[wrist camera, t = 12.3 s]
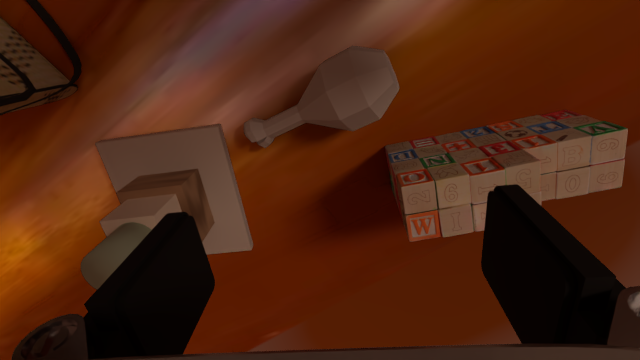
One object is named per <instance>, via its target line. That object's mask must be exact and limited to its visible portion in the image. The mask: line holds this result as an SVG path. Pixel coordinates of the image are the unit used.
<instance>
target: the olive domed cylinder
mask: <svg viewBox="0 0 640 360" xmlns="http://www.w3.org/2000/svg"><path fill="white" fill-rule="evenodd" d="M150 231H151V229H150V228H149V227H147V226H145V225H143V224H140V223H134V222H129V223H124V224H122V225H120V226H119V227H118V228H117V229H115V230H114V231H113V232H112V233H111V234H110V235H109V236H108V237H106V238H105V239H104V240H103V241H102V242H101V243H100V244H99V245H97V246H96V247H95V248H94V249H93V250H92V251H91V252H90V253H88V254H87V255H86V256H85V257H84V258H83V260H82V262H81V272H82V275H83V277H84V278H85V280H86V281H87V282H88V283H89V284H90V285H91V286H92V287H94V288H95V289H97V290H98V288H99V287H100V286H101V285H102V284H103V283H104V282H105V281H106V280H107V279H108V277H109V276H110V275H111V274H112V273H113V272H114V271H115V270H116V269H117V268H118V266H119V265H120V264H121V263H122V262H123V261H124V260H125V259H126V258H127V257H128V256H129V254H130V253H131V252H132V251H133V250H134V249H135V248H136V247H137V246H138V245H139V243H140V242H141V241H142V240H143V239H144V238H145V237H146V236H147V235H148V234H149V232H150Z"/></svg>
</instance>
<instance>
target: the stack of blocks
mask: <svg viewBox="0 0 640 360" xmlns="http://www.w3.org/2000/svg"><path fill="white" fill-rule="evenodd" d="M627 133H628V129H627V128H625V127H622V126H619V125H616V124H613V123H610V122H606V121H600V120H597V119H594V118H591V117H588V116H585V115H580V114H577V113H575V112H572V111H568V110H563V111H558V112H554V113H549V114H545V115H540V116H539V115H536V116H531V117H526V118H521V119H516V120H513V121H506V122H501V123H496V124H491V125H487V126H485V127H479V128H474V129H469V130H464V131H460V132H455V133H450V134H446V135H441V136H436V137H428V138H423V139H418V140H413V141H408V142H402V143H397V144H392V145H387V146H385V152H386V158H387V164H388V168H389V173H390V179H391V185H392V191H393V194H394V196H395V199H396V202H397V206H398V209H399V212H400V216H401V219H402V222H403V225H404V226H405V229H406V232H407V235H408V238H409V241H410V242H412V241H418V240H424V239H430V238H436V237H440V236H442V237H448V236H454V235H460V234H465V233H470V232H473V231H474V230H475V231H483V230H484V228H485V218H486V207H487V196H488V193H489V192H490V191H494V188H495V187H496V186H501V185H513V184H518V185H519V186H520V187H521V188H522V189H524V190H525V191H526V192H527V193H528V194H529V195H530V196H531V197H532V198H533V199H534V200H535V201H536V202H537V203H538V204H540V205H541V201H545V200H551V199H561V198H566V197H572V196H578V195H583V194H588V193H589V192H596V191H602V190H608V189H613V188H619V187H621V186H622V179H623V171H624V163H625V160H624V156H625V150H626V141H627Z"/></svg>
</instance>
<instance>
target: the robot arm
mask: <svg viewBox="0 0 640 360" xmlns="http://www.w3.org/2000/svg"><path fill="white" fill-rule="evenodd" d="M481 265H482V271H483V274H484V276H485V278H486V279H487V281H488V283H489V285H490V287H491V289H492V290H493V292H494V294H495V296H496V298H497V299H498V301H499V303H500V305H501V307H502V308H503V310H504V312H505V314H506V316H507V317H508V319H509V321H510V323H511V325H512V327H513V328H514V330H515V332H516V334H517V335H518V337H519V339H520V341H521V343H522V344H490V345H489V344H487V345H450V346H449V345H448V346H412V347H377V348H345V349H315V350H286V351H257V352H232V353H206V354H183V352H184V350H185V348H186V346H187V344H188V342H189V340H190V338H191V336H192V334H193V331H194V329H195V327H196V325H197V323H198V321H199V319H200V317H201V315H202V313H203V311H204V308H205V306H206V304H207V302H208V300H209V298H210V296H211V294H212V292H213V290H214V286H215V280H214V276H213V273H212V270H211V267H210V264H209V261H208V258H207V255H206V252H205V249H204V246H203V243H202V240H201V237H200V234H199V231H198V228H197V225H196V222H195V220H194V218H193V216H189V214H188V213H187V212H175V213H167V214H166V215H165V216H164V217H163V218H162V219H161V220H160V221H159V223H158V224H157V225H156V226H155V227H154V228H153V229H152V230H151V231H150V232H149V234H148V235H147V236H146V237H145V238H144V239H143V240H142V241H141V242H140V243H139V245H138V246H137V247H136V248H135V249H134V250H133V251H132V252H131V253H130V254H129V256H128V257H127V258H126V259H125V260H124V261H123V262H122V263H121V264H120V265H119V266H118V268H117V269H116V270H115V271H114V272H113V273H112V274H111V275H110V276H109V277H108V279H107V280H106V281H105V282H104V283H103V284H102V285H101V286H100V287H99V288H98V290H97V291H96V292H95V293H94V294H93V295H92V296H91V297H90V298H89V299H88V301H87V302H86V303H85V304H84V305H85V307H86V309H87V310H88V313H87V314H86V315H85V317H84V318H83V317H82V316H80V315H78V314H68V315H63V316H60V317H57V318H54V319H52V320H50V321H48V322H46V323H44V324H42V325H40V326H39V327H37V328H36V329H35V330H33V331H32V332H30V333H29V334H28V335H27V336H26V337H25V338H24V339H23V340H21V342H20V343H19V344H18V345H17V347H16V348H15V350H14V352H13V355H12V360H640V286H635V287H629V288H625V287H624V286H623V285H622V284H621V283H620V282H619V281H618V280H617V279H616V276H615V275H614V274H613V273H612V272H611V271H610V270H609V269H608V268H607V267H606V266H605V265H604V264H602V263H601V262H600V261H599V260H598V259H597V258H596V257H595V256H594V255H593V254H592V253H591V252H590V251H589V250H587V249H586V248H585V247H584V246H583V245H582V244H581V243H580V242H579V241H578V240H577V239H576V238H575V237H574V236H573V235H572V234H570V233H569V232H568V231H567V230H566V229H565V228H564V227H563V226H562V225H561V224H560V223H559V222H558V221H557V220H556V219H554V218H553V217H552V216H551V215H550V214H549V213H548V212H547V211H546V210H545V209H544V208H542V206H541V205H540V204H538V203H537V202H536V201H535V200H534V199H533V198H532V197H531V196H530V195H529V194H528V193H527V192H526V191H525V190H524V189H522V188H521V187H520V186H519V185H518V184H513V185H501V186H496V187H495V188H494V191H490V192H489V193H488V196H487V207H486V218H485V228H484V239H483V250H482V261H481Z"/></svg>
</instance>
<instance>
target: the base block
mask: <svg viewBox="0 0 640 360" xmlns="http://www.w3.org/2000/svg"><path fill="white" fill-rule="evenodd" d="M116 194H117V196H118V199H119V201H120V203H121V204H122V203H123V202H125V201H126V200H127V199H136V198H144V197H153V196H161V195H170V194H176V196H177V199H178V202H179V205H180V208H181V210H182V212H187V213H188V214H189V216H193V218H194V220H195V222H196V225H197V228H198V231H199V234H200V237H201V240H202V242H203V240H204V239H205V237H206V236H207V234H208V232H209V231H210V229H211V228H212V226H213V225H214V223H215V222H214V218H213V215H212V212H211V209H210V206H209V202H208V199H207V196H206V193H205V190H204V186H203V183H202V180H201V177H200V174H199V170H198V169H191V170H183V171H175V172H167V173H159V174H151V175H143V176H138V177H137V178H136V179H134V180H133V181H131V182H130V183H129V184H127V185H126V186H125V187H123V188H122V189H120V190H119V191H118V192H116Z"/></svg>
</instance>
